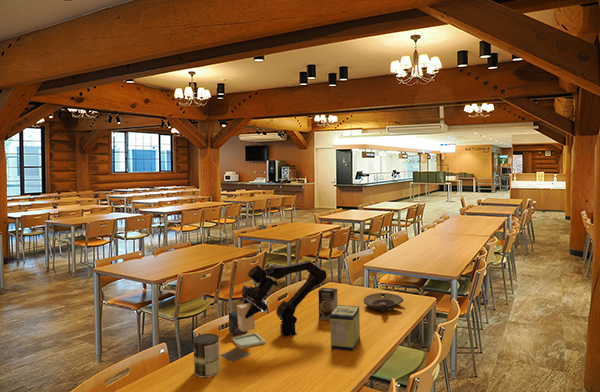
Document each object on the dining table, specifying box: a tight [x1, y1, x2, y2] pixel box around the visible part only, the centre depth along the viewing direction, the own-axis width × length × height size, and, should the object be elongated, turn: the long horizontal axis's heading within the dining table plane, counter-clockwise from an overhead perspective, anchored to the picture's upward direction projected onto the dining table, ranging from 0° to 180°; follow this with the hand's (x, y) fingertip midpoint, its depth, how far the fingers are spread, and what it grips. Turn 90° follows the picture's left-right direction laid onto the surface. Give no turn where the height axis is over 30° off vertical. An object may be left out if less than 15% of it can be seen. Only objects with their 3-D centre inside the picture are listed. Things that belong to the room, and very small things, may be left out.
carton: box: [236, 303, 256, 332], centre depth 205 cm, size 6×6×11 cm
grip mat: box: [219, 347, 252, 363], centre depth 193 cm, size 10×10×1 cm
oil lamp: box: [363, 292, 404, 312], centre depth 250 cm, size 22×30×8 cm
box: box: [228, 310, 249, 336], centre depth 220 cm, size 8×6×11 cm
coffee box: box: [318, 287, 338, 321], centre depth 236 cm, size 9×6×16 cm
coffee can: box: [192, 333, 221, 378], centre depth 177 cm, size 10×10×14 cm
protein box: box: [329, 304, 361, 351], centre depth 202 cm, size 10×16×16 cm
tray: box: [231, 332, 266, 350], centre depth 207 cm, size 12×12×2 cm
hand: (243, 316), depth 204 cm, fingers closed on carton, 6 cm apart
